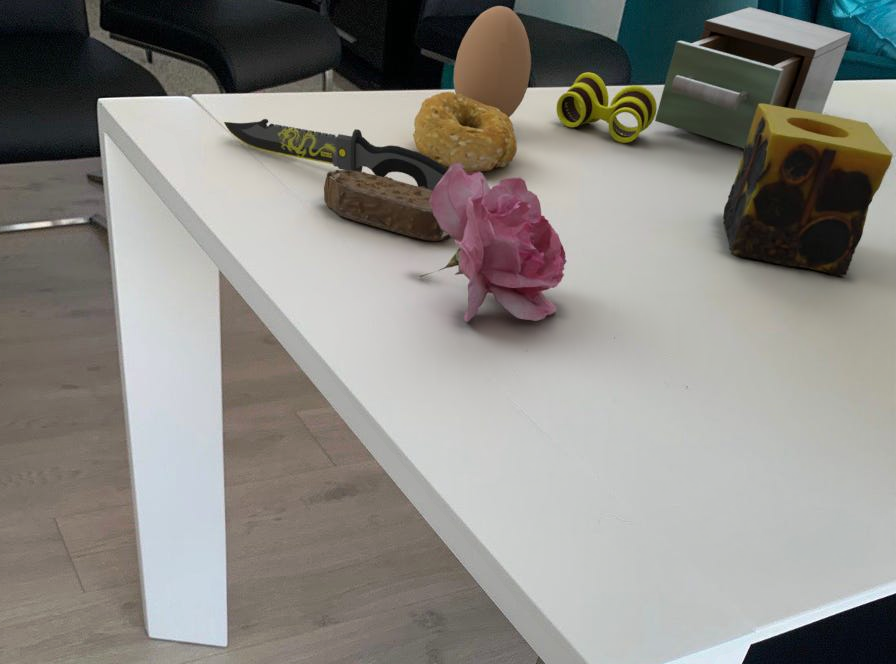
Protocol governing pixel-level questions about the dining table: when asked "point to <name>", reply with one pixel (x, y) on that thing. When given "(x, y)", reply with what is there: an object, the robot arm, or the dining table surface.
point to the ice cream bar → (383, 203)
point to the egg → (494, 61)
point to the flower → (499, 242)
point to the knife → (339, 151)
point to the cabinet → (790, 49)
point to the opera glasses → (606, 106)
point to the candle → (804, 189)
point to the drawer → (725, 86)
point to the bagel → (464, 133)
